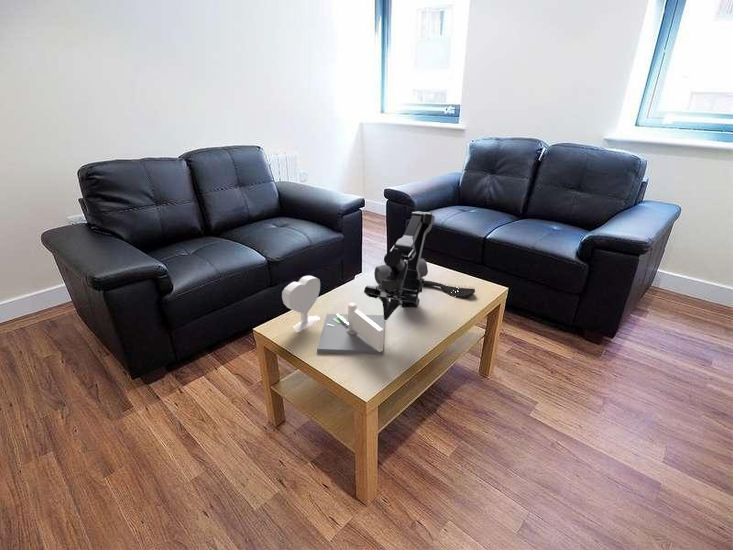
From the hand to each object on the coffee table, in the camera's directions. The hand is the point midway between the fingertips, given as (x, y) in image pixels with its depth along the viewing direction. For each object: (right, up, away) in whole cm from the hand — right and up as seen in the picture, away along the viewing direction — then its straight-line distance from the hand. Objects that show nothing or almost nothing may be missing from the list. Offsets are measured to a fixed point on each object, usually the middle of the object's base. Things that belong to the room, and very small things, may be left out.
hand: (385, 319), depth 130 cm
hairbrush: (+28, +8, +38) cm, 48 cm away
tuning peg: (-9, -5, +5) cm, 12 cm away
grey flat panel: (-11, -6, +8) cm, 15 cm away
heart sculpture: (-29, -3, +14) cm, 33 cm away
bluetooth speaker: (+9, +12, +44) cm, 47 cm away
